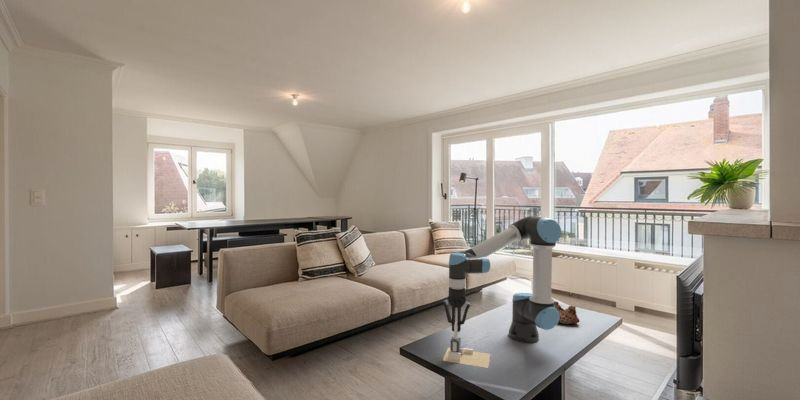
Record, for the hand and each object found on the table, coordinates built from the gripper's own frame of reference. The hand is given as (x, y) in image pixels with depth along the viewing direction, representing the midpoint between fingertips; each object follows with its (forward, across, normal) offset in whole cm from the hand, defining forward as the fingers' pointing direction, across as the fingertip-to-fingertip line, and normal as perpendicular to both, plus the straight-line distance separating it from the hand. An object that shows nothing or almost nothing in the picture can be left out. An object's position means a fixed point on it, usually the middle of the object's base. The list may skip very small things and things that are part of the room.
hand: (456, 338), depth 159 cm
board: (+9, -5, -1) cm, 11 cm away
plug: (+8, 0, 0) cm, 8 cm away
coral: (+10, -54, -71) cm, 89 cm away
